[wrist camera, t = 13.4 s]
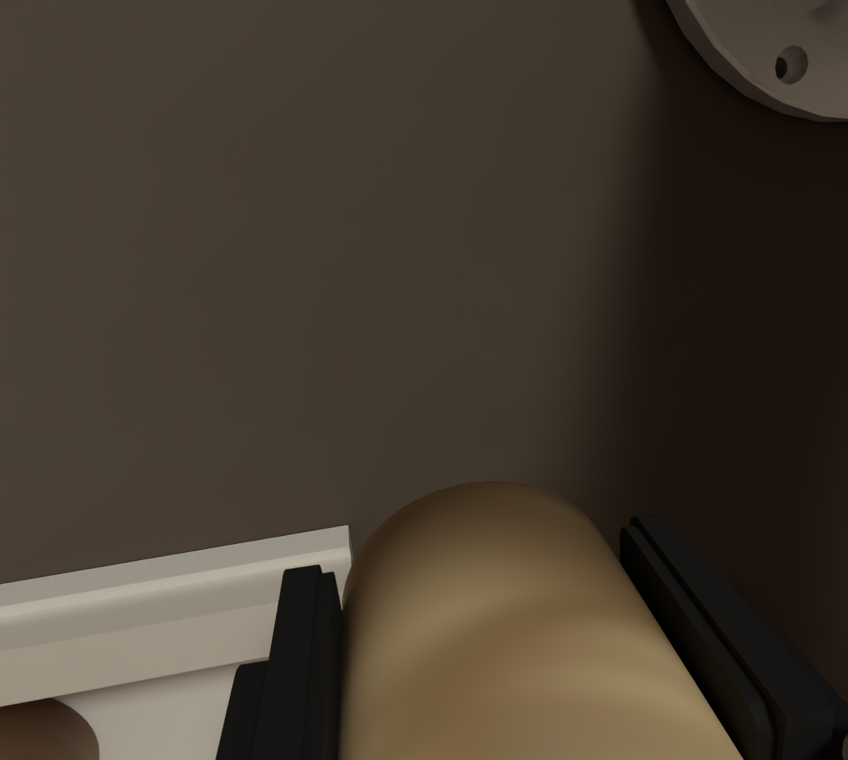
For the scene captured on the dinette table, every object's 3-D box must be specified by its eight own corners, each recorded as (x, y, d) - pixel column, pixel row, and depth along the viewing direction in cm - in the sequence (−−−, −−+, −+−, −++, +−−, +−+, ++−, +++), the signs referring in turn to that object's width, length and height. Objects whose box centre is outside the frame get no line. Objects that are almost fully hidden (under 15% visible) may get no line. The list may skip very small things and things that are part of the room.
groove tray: (348, 525, 20) (350, 578, 17) (391, 778, 23) (399, 856, 20) (-111, 603, 19) (-185, 674, 16) (0, 859, 22) (-47, 954, 19)
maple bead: (615, 461, 10) (880, 785, 5) (617, 689, 12) (820, 1111, 7) (320, 504, 10) (280, 890, 5) (363, 730, 12) (367, 1203, 6)
